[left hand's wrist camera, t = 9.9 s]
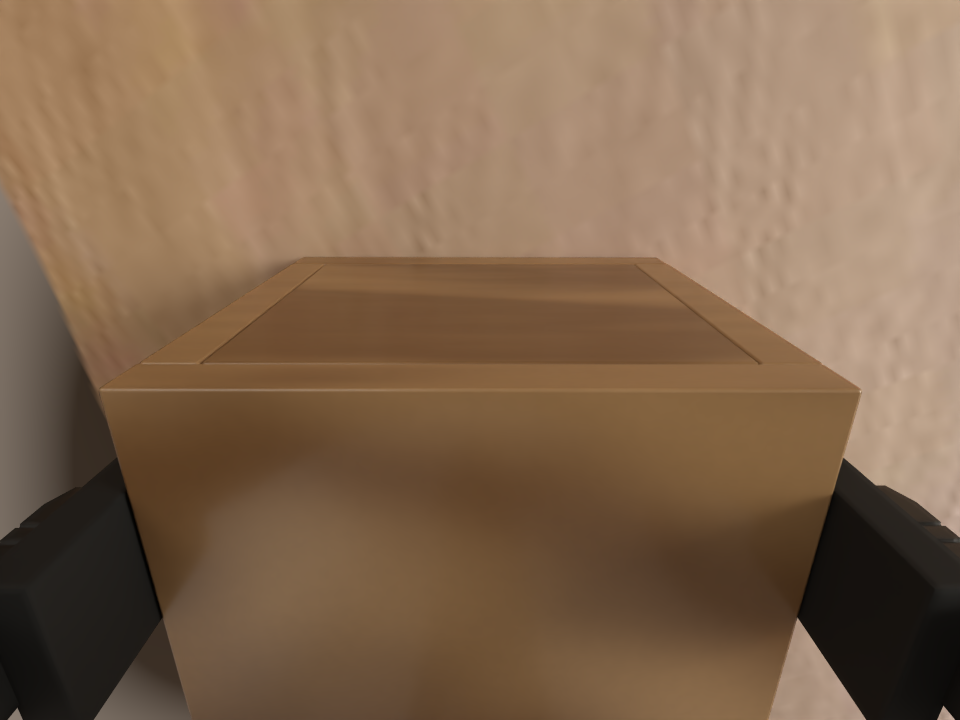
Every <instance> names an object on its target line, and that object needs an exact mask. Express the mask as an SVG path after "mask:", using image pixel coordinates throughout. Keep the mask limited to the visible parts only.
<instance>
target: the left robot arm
mask: <svg viewBox="0 0 960 720" xmlns="http://www.w3.org/2000/svg"><path fill="white" fill-rule="evenodd" d="M161 619H162V614H161V610H160V607H159V603H158V599H157V596H156V592H155V589H154V585H153V582H152V578H151V575H150V571H149V568H148V564H147V561H146V557H145V553H144V550H143V546H142V543H141V539H140V536H139V532H138V529H137V525H136V522H135V518H134V515H133V511H132V507H131V504H130V500H129V497H128V493H127V490H126V486H125V483H124V479H123V476H122V472H121V469H120V465H119V462H118V458H116V459H115V460H113V461H112V462H111V463H110V464H109V465H108V466H106V467H105V468H104V469H103V470H102V471H101V472H100V473H98V474H97V475H96V476H95V477H94V478H93V479H91V480H90V481H89V482H88V483H87V484H86V485H84V486H83V487H75V488H74V489H72V490H70V491H68V492H66V493H64V494H62V495H60V496H59V497H57V498H55V499H53V500H51V501H49V502H47V503H46V504H44V505H43V506H41V507H40V508H39V509H38V510H37V511H35V512H34V513H33V514H32V515H31V516H29V517H28V518H27V519H26V520H24V521H23V522H22V523H21V524H20V528H15V529H14V530H12V531H11V532H10V533H9V534H7V535H6V536H5V537H4V538H3V539H1V540H0V720H8V718H9V717H10V716H11V715H12V713H13V712H14V711H15V710H16V709H17V707H18V710H19V712H20V714H21V716H22V719H23V720H94V718H95V717H96V715H97V714H98V712H99V711H100V709H101V708H102V706H103V705H104V703H105V702H106V701H107V699H108V698H109V696H110V695H111V693H112V691H113V690H114V689H115V687H116V686H117V684H118V683H119V681H120V680H121V678H122V677H123V675H124V674H125V672H126V671H127V669H128V668H129V666H130V665H131V663H132V662H133V660H134V659H135V657H136V656H137V654H138V653H139V651H140V650H141V648H142V647H143V645H144V644H145V642H146V641H147V639H148V638H149V636H150V635H151V634H152V632H153V631H154V629H155V628H156V626H157V625H158V623H159V622H160V620H161ZM798 619H799V620H800V622H801V623H802V625H803V626H804V628H805V629H806V631H807V632H808V634H809V635H810V637H811V638H812V640H813V641H814V642H815V644H816V645H817V647H818V648H819V650H820V651H821V653H822V654H823V656H824V657H825V659H826V660H827V662H828V663H829V665H830V666H831V668H832V669H833V671H834V672H835V674H836V675H837V677H838V678H839V680H840V681H841V683H842V684H843V686H844V687H845V689H846V690H847V692H848V693H849V695H850V696H851V698H852V699H853V701H854V702H855V704H856V705H857V706H858V708H859V709H860V711H861V712H862V714H863V715H864V717H865V718H866V720H937V719H938V716H939V714H940V712H941V710H942V707H943V706H944V707H945V708H946V709H947V710H948V712H949V713H950V714H951V715H952V716H953V718H954V719H955V720H960V538H959V537H958V536H957V535H956V534H955V533H953V532H952V531H951V530H950V529H948V528H947V527H946V526H941V522H940V521H939V520H937V519H936V518H935V517H934V516H933V515H931V514H930V513H929V512H928V511H926V510H925V509H924V508H923V507H922V506H920V505H919V504H918V503H917V502H915V501H913V500H911V499H909V498H907V497H906V496H904V495H902V494H900V493H898V492H896V491H894V490H892V489H891V488H889V487H887V486H876V485H874V484H873V483H872V482H871V481H870V480H869V479H867V478H866V477H865V476H864V475H863V474H862V473H861V472H859V471H858V470H857V469H856V468H855V467H854V466H852V465H851V464H850V463H849V462H848V461H847V460H845V459H844V458H843V460H842V463H841V467H840V470H839V474H838V477H837V481H836V484H835V488H834V491H833V495H832V498H831V502H830V505H829V509H828V512H827V516H826V519H825V523H824V526H823V530H822V533H821V537H820V540H819V544H818V547H817V551H816V554H815V558H814V561H813V565H812V568H811V572H810V575H809V579H808V582H807V586H806V589H805V593H804V596H803V600H802V603H801V607H800V610H799V614H798Z"/></svg>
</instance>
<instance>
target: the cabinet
mask: <svg viewBox="0 0 960 720" xmlns="http://www.w3.org/2000/svg"><path fill="white" fill-rule="evenodd" d="M861 393H862V391H861V389H860V388H859V387H857V386H856V385H854V384H853V383H851V382H849V381H848V380H846V379H845V378H843V377H842V376H840V375H839V374H837V373H836V372H834V371H832V370H831V369H829V368H828V367H826V366H824V365H822V364H821V362H819V361H818V360H816V359H814V358H813V357H811V356H810V355H808V354H807V353H805V352H804V351H802V350H800V349H799V348H797V347H796V346H794V345H793V344H791V343H790V342H788V341H786V340H785V339H783V338H782V337H780V336H779V335H777V334H776V333H774V332H772V331H771V330H769V329H768V328H766V327H765V326H763V325H762V324H760V323H758V322H757V321H755V320H754V319H752V318H751V317H749V316H748V315H746V314H744V313H743V312H741V311H740V310H738V309H737V308H735V307H734V306H732V305H730V304H729V303H727V302H726V301H724V300H723V299H721V298H720V297H718V296H716V295H715V294H713V293H712V292H710V291H709V290H707V289H706V288H704V287H702V286H701V285H699V284H698V283H696V282H695V281H693V280H692V279H690V278H689V277H687V276H685V275H684V274H682V273H681V272H679V271H678V270H676V269H675V268H673V267H671V266H670V265H668V264H666V263H664V262H663V261H661V260H659V259H658V258H407V257H304V258H301V259H300V260H298V261H297V262H295V263H294V264H292V265H290V266H289V267H287V268H285V269H284V270H282V271H281V272H279V273H278V274H276V275H275V276H273V277H272V278H270V279H268V280H267V281H265V282H264V283H262V284H261V285H259V286H258V287H256V288H255V289H253V290H251V291H250V292H248V293H247V294H245V295H244V296H242V297H241V298H239V299H237V300H236V301H234V302H233V303H231V304H230V305H228V306H227V307H225V308H224V309H222V310H220V311H219V312H217V313H216V314H214V315H213V316H211V317H210V318H208V319H207V320H205V321H203V322H202V323H200V324H199V325H197V326H196V327H194V328H193V329H191V330H190V331H188V332H186V333H185V334H183V335H182V336H180V337H179V338H177V339H176V340H174V341H172V342H171V343H169V344H168V345H166V346H165V347H163V348H162V349H160V350H159V351H157V352H155V353H154V354H152V355H151V356H149V357H148V358H146V359H145V360H143V361H142V362H140V364H137V365H135V366H133V367H132V368H130V369H129V370H127V371H126V372H124V373H123V374H121V375H119V376H118V377H116V378H115V379H113V380H112V381H110V382H109V383H107V384H105V385H104V386H102V387H101V388H100V389H99V394H100V398H101V401H102V405H103V408H104V412H105V416H106V419H107V423H108V426H109V430H110V433H111V437H112V440H113V444H114V447H115V451H116V454H117V458H118V462H119V465H120V469H121V472H122V476H123V479H124V483H125V486H126V490H127V493H128V497H129V500H130V504H131V507H132V511H133V515H134V518H135V522H136V525H137V529H138V532H139V536H140V539H141V543H142V546H143V550H144V553H145V557H146V561H147V564H148V568H149V571H150V575H151V578H152V582H153V585H154V589H155V592H156V596H157V599H158V603H159V607H160V610H161V614H162V617H163V621H164V624H165V628H166V631H167V635H168V638H169V642H170V645H171V649H172V652H173V656H174V660H175V663H176V667H177V670H178V674H179V677H180V681H181V684H182V688H183V691H184V695H185V698H186V702H187V706H188V709H189V713H190V716H191V720H768V719H769V715H770V712H771V708H772V705H773V701H774V698H775V694H776V691H777V687H778V684H779V680H780V677H781V673H782V670H783V666H784V663H785V659H786V656H787V652H788V649H789V645H790V642H791V638H792V635H793V631H794V628H795V624H796V621H797V617H798V614H799V610H800V607H801V603H802V600H803V596H804V593H805V589H806V586H807V582H808V579H809V575H810V572H811V568H812V565H813V561H814V558H815V554H816V551H817V547H818V544H819V540H820V537H821V533H822V530H823V526H824V523H825V519H826V516H827V512H828V509H829V505H830V502H831V498H832V495H833V491H834V488H835V484H836V481H837V477H838V474H839V470H840V467H841V463H842V460H843V456H844V453H845V449H846V446H847V442H848V439H849V435H850V432H851V428H852V425H853V421H854V418H855V414H856V411H857V407H858V404H859V400H860V397H861Z"/></svg>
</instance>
